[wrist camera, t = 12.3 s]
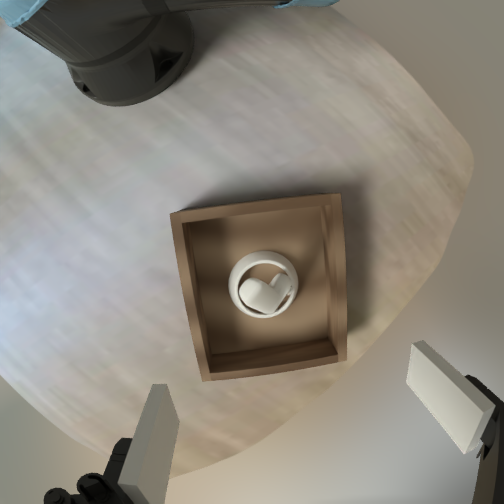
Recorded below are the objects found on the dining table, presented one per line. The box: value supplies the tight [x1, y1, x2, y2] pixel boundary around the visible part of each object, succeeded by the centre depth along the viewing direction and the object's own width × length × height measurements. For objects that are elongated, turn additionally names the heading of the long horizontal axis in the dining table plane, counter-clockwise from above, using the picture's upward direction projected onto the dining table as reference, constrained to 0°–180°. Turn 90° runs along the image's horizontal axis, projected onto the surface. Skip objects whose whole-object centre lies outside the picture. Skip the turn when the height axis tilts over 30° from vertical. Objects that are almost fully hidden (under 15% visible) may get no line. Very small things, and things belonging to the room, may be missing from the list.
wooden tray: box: [170, 193, 347, 382], centre depth 31 cm, size 18×16×5 cm
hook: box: [228, 251, 298, 318], centre depth 29 cm, size 8×12×7 cm
